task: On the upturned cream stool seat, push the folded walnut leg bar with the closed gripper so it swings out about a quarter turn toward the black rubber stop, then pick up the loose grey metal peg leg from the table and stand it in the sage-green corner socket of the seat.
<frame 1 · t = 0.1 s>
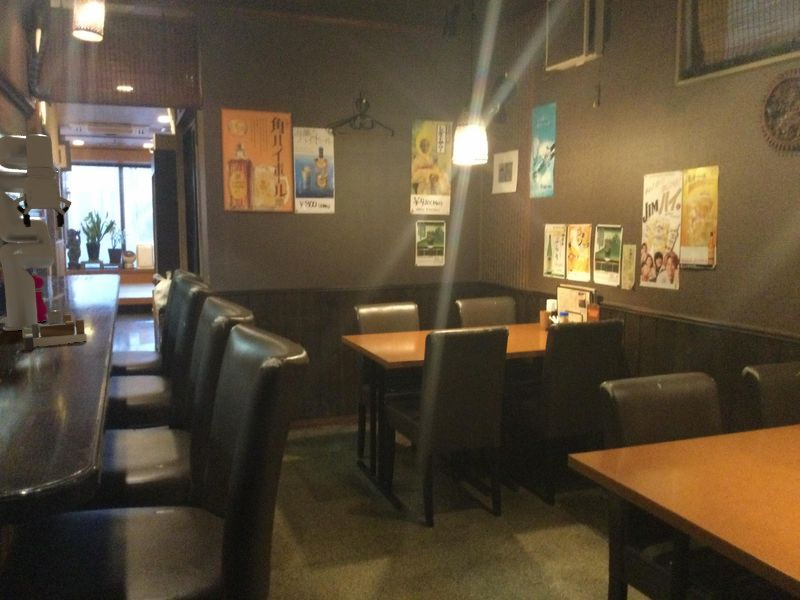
hand: (44, 227, 209), 37 cm above the table, tool pointing down, fingers open, 9 cm apart
leg peg: (56, 333, 225), on the table
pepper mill: (37, 322, 255), on the table
hinged leg: (57, 328, 205), point 5 cm above the table, hinge at 0.0°
seat board: (54, 339, 212), on the table
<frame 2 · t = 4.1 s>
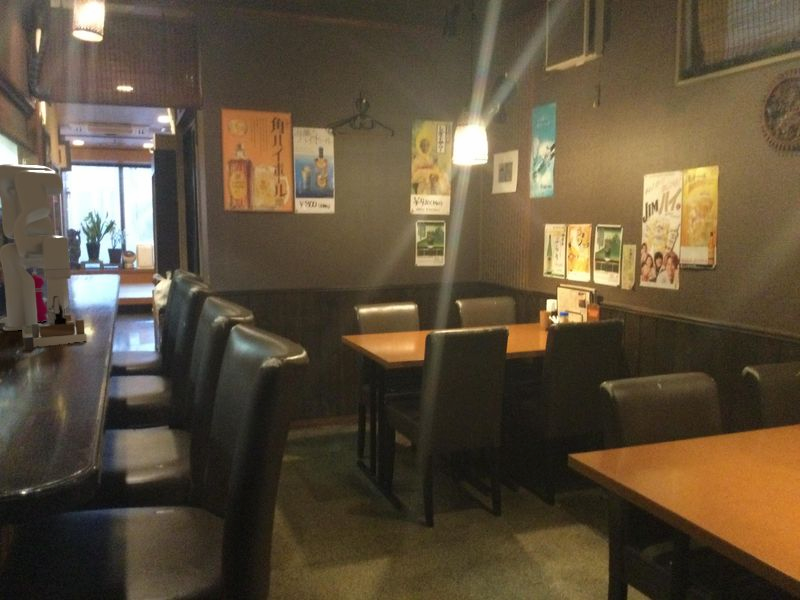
hand: (61, 330, 208), 4 cm above the table, tool pointing down, fingers closed
hinged leg: (57, 328, 205), point 5 cm above the table, hinge at -0.4°, touching gripper
everything else where it was.
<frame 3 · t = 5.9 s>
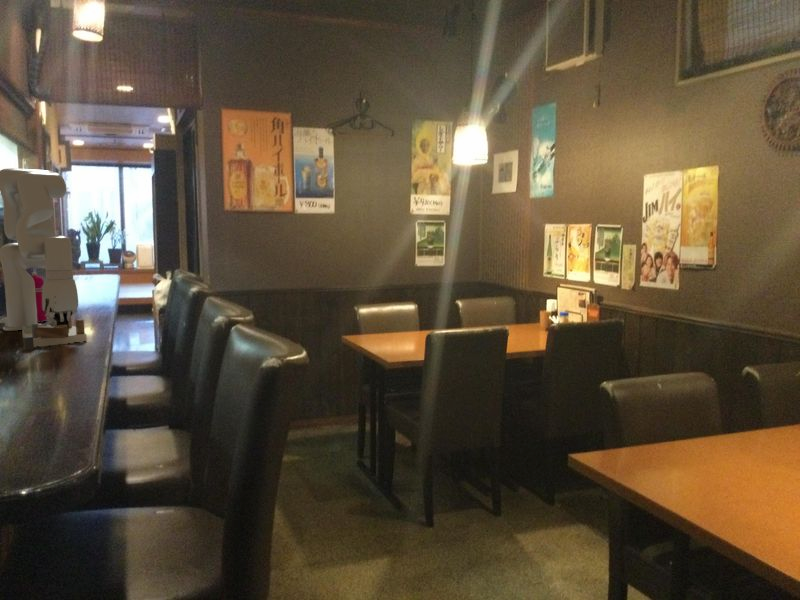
hand: (63, 333, 203), 3 cm above the table, tool pointing down, fingers closed
hinged leg: (52, 331, 200), point 5 cm above the table, hinge at -48.3°, touching gripper
everything else where it was.
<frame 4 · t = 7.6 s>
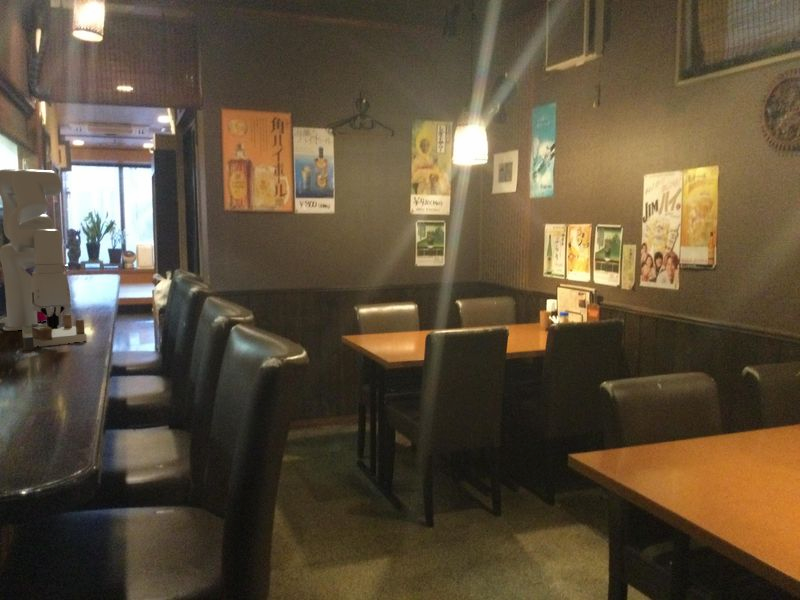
hand: (53, 328, 199), 6 cm above the table, tool pointing down, fingers closed
hinged leg: (42, 332, 197), point 5 cm above the table, hinge at -79.1°
everything else where it was.
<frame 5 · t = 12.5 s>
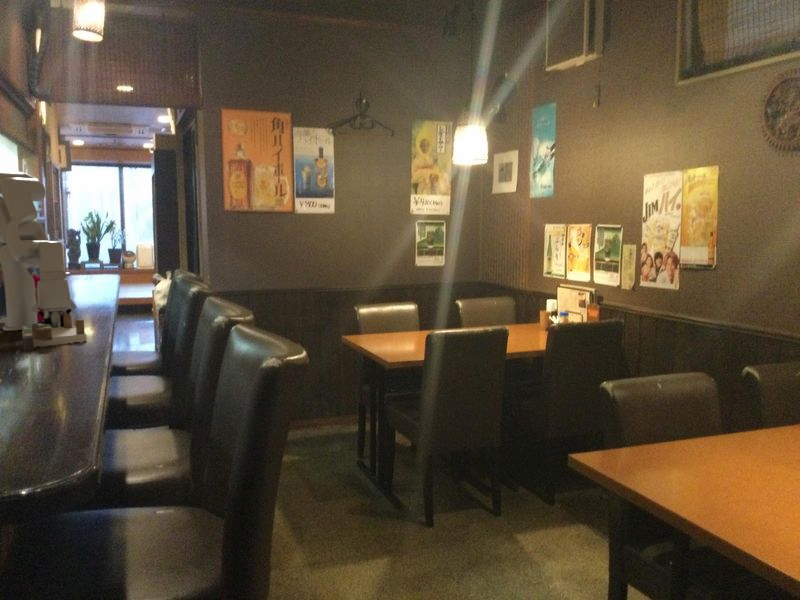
hand: (55, 328, 225), 2 cm above the table, tool pointing down, fingers closed on leg peg, 4 cm apart
leg peg: (56, 333, 225), on the table, touching gripper
everything else where it was.
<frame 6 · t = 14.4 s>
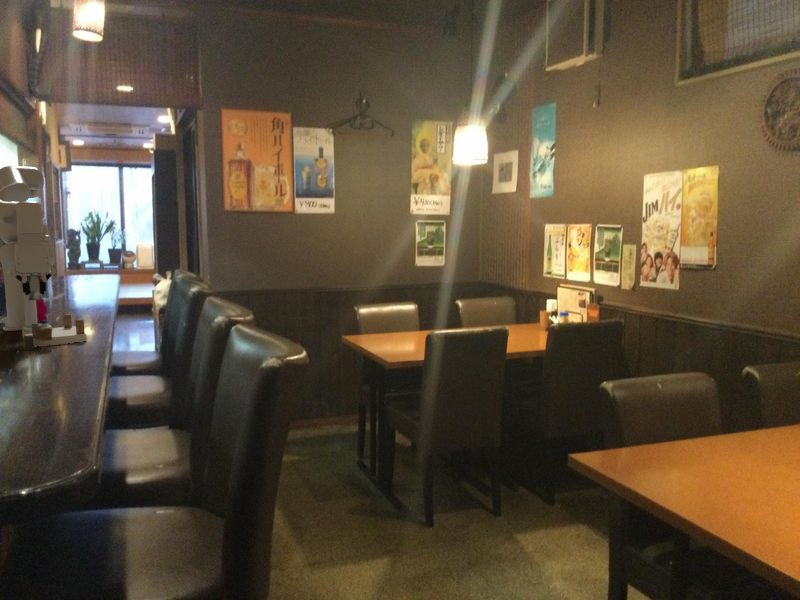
hand: (34, 293, 213), 15 cm above the table, tool pointing down, fingers closed on leg peg, 4 cm apart
leg peg: (35, 299, 213), point 13 cm above the table, touching gripper
everything else where it was.
when the fingers open (5 cm above the table, at t = 16.4 s): leg peg stays where it is, resting on seat board.
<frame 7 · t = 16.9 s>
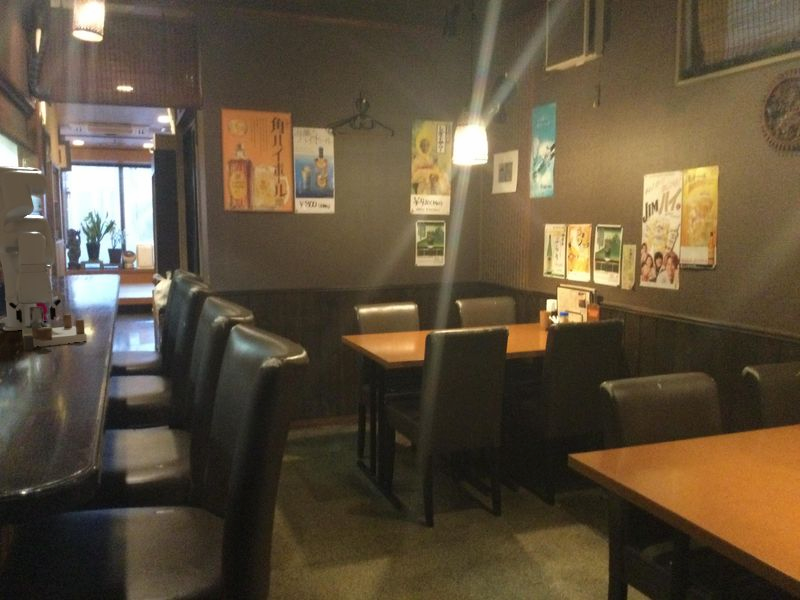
hand: (36, 320, 214), 6 cm above the table, tool pointing down, fingers open, 9 cm apart
leg peg: (37, 330, 215), point 3 cm above the table, touching seat board
everything else where it was.
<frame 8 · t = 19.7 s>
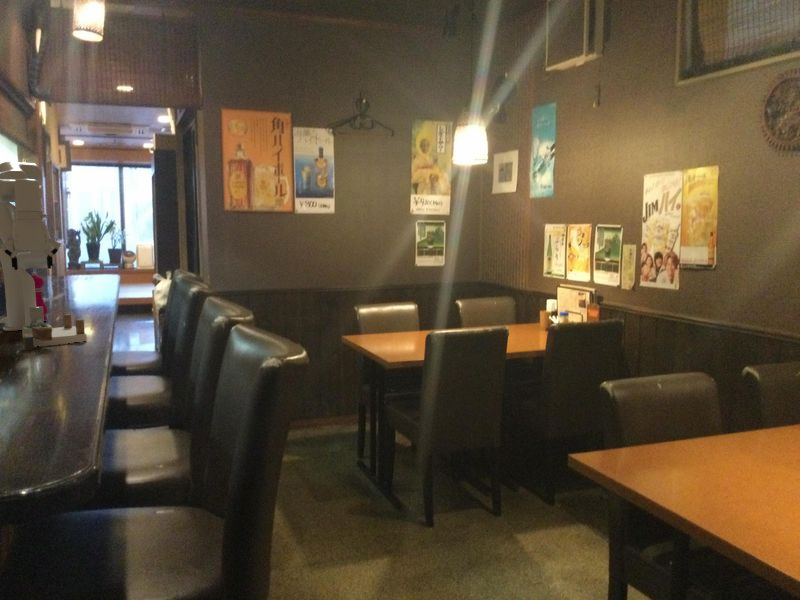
hand: (32, 269, 212), 23 cm above the table, tool pointing down, fingers open, 9 cm apart
nothing on the table moved.
at the end: hinged leg at -79° (first picture: +0°); leg peg 0.0 cm from the target spot on the seat board, point 2.5 cm above the seat board's base; leg peg tilted 1° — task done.
